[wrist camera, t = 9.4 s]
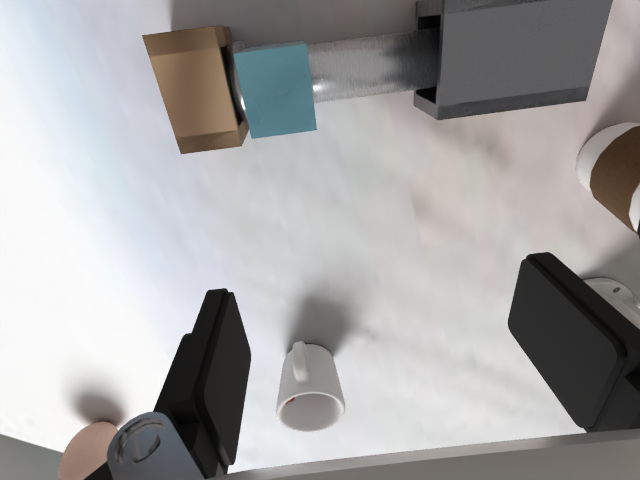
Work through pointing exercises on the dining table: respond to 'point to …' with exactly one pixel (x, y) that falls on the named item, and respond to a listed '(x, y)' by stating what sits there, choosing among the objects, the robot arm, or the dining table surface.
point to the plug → (324, 76)
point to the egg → (86, 451)
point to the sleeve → (510, 53)
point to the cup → (309, 390)
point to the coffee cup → (614, 171)
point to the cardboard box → (196, 87)
